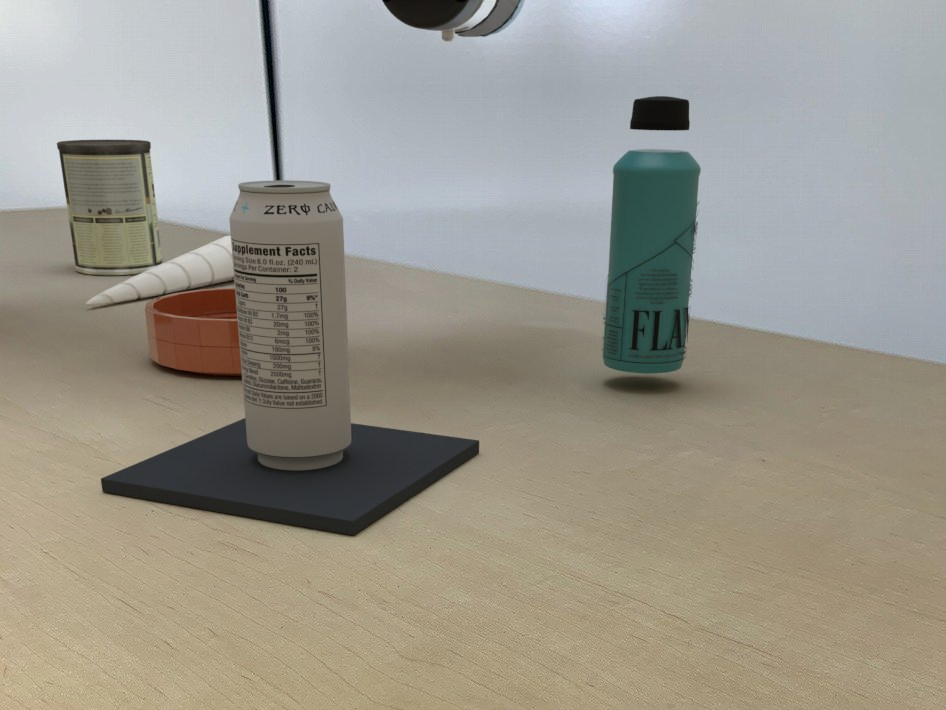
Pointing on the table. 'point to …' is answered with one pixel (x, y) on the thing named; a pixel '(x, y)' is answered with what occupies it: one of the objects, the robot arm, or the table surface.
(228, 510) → the mat
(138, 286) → the unicorn horn
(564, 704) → the table surface
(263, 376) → the energy drink can
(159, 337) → the bowl
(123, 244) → the coffee can
